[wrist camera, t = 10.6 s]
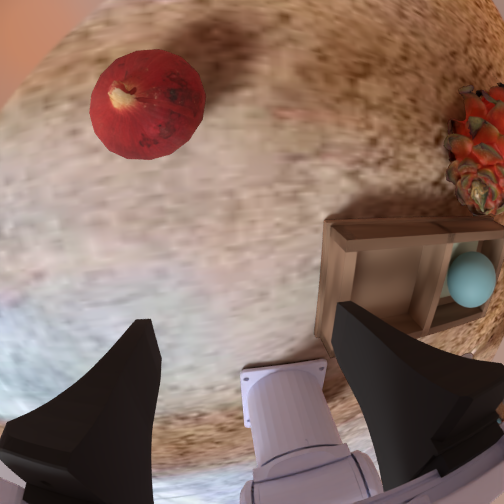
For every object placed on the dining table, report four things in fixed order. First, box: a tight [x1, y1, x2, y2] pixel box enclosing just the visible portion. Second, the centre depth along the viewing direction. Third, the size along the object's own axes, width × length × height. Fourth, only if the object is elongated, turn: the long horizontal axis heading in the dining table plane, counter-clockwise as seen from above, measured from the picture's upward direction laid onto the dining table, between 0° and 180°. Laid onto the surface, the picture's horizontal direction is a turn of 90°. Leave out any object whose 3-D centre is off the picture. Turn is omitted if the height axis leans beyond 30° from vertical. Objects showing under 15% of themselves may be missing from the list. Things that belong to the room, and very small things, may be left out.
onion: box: [89, 49, 206, 160], centre depth 12 cm, size 6×6×8 cm
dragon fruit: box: [444, 82, 504, 217], centre depth 16 cm, size 8×8×12 cm
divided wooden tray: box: [314, 216, 504, 358], centre depth 22 cm, size 10×19×3 cm, turn 92°
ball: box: [447, 251, 496, 308], centre depth 21 cm, size 5×5×5 cm
